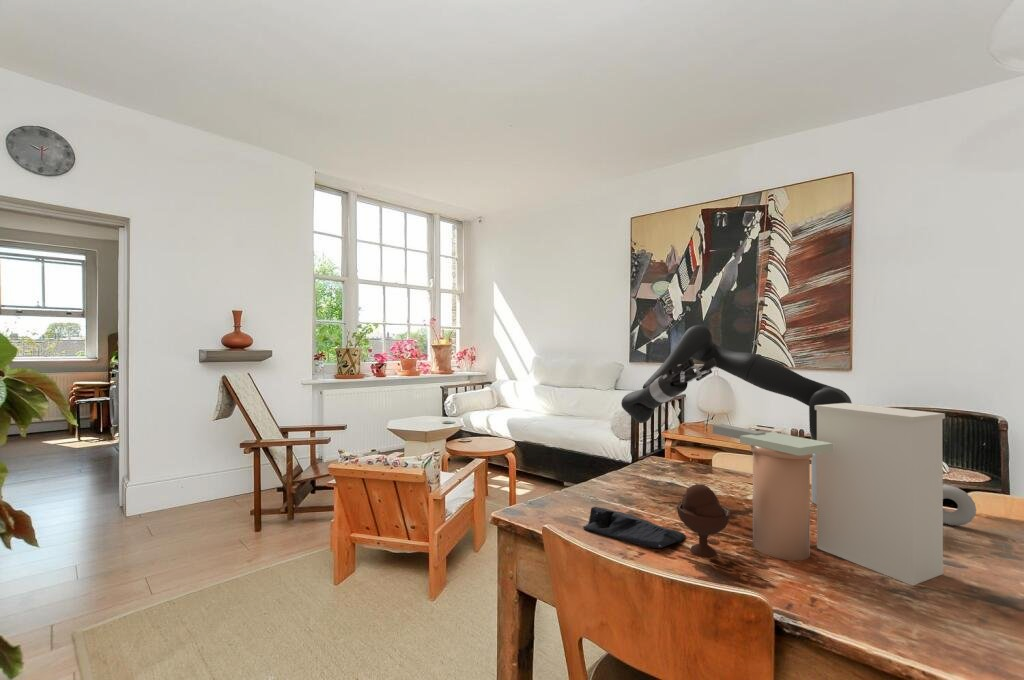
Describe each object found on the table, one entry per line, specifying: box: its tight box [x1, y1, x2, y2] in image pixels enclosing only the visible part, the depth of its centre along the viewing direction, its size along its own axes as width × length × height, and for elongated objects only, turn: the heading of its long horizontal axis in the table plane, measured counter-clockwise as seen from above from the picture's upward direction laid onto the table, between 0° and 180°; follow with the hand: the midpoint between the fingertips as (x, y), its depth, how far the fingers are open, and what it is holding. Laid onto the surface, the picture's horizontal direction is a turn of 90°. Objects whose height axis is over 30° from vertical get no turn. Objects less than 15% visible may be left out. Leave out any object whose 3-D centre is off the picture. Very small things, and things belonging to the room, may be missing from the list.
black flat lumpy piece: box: [582, 506, 687, 549], centre depth 114 cm, size 15×22×5 cm
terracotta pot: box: [749, 445, 812, 561], centre depth 105 cm, size 12×12×23 cm
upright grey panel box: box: [815, 403, 946, 586], centre depth 100 cm, size 12×19×32 cm, turn 25°
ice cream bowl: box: [676, 483, 731, 559], centre depth 103 cm, size 11×11×15 cm
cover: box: [712, 424, 833, 456], centre depth 109 cm, size 11×25×2 cm, turn 25°
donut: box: [943, 484, 977, 527], centre depth 120 cm, size 10×4×10 cm, turn 40°
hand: (704, 361), depth 131 cm, fingers open, 8 cm apart
